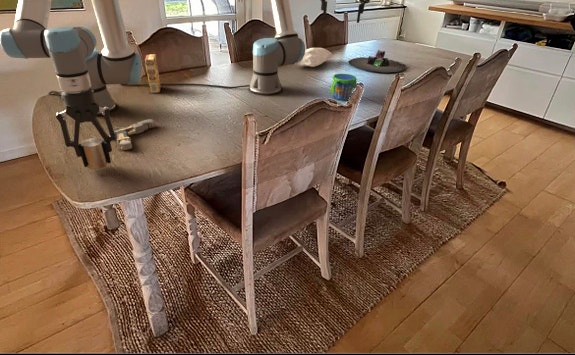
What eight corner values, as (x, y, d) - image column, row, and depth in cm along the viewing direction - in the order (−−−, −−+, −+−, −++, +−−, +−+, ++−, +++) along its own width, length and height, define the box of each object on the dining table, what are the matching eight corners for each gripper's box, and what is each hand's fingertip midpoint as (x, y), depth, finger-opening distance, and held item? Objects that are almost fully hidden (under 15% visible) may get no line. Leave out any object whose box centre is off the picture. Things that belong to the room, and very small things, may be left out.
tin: (84, 169, 109) (77, 146, 104) (92, 159, 113) (86, 137, 109) (103, 169, 109) (97, 146, 105) (111, 159, 114) (105, 138, 110)
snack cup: (347, 91, 179) (350, 71, 174) (362, 98, 172) (365, 77, 167) (322, 97, 172) (324, 75, 166) (336, 104, 165) (339, 82, 159)
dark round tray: (418, 67, 219) (420, 52, 215) (377, 75, 202) (379, 59, 197) (375, 58, 244) (377, 43, 239) (336, 64, 226) (337, 49, 222)
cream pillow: (271, 61, 216) (273, 46, 210) (312, 52, 236) (315, 38, 230) (297, 77, 204) (300, 61, 198) (339, 66, 224) (342, 52, 218)
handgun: (169, 128, 131) (147, 116, 139) (122, 144, 120) (101, 130, 128) (170, 135, 133) (148, 122, 141) (123, 152, 121) (102, 137, 129)
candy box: (159, 92, 169) (154, 59, 161) (150, 93, 168) (144, 59, 160) (161, 86, 176) (156, 54, 168) (151, 86, 175) (146, 54, 167)
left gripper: (35, 97, 92) (62, 175, 105) (115, 89, 99) (131, 163, 112) (38, 88, 98) (63, 162, 110) (113, 81, 105) (129, 152, 117)
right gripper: (312, -43, 133) (308, 19, 145) (381, -40, 128) (371, 25, 139) (316, -43, 139) (312, 16, 151) (382, -40, 134) (373, 22, 145)
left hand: (97, 162), depth 111 cm, fingers closed on tin, 6 cm apart
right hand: (340, 21), depth 145 cm, fingers open, 13 cm apart
